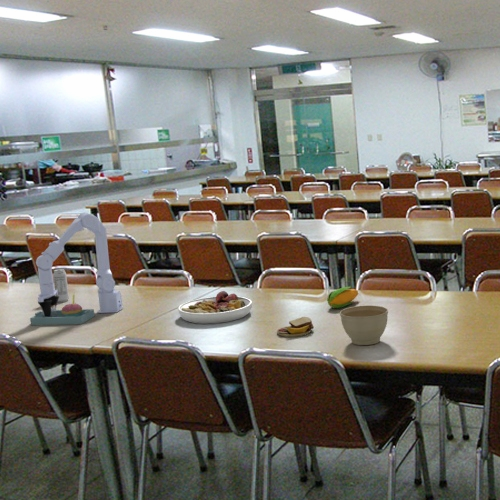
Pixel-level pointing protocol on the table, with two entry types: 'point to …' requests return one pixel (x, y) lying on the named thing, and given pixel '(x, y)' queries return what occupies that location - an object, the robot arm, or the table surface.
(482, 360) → the table surface
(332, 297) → the corn
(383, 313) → the planter bowl
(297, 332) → the toy sandwich meal
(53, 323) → the tray
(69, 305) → the donut with candle
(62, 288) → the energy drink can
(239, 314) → the bowl
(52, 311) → the tin
